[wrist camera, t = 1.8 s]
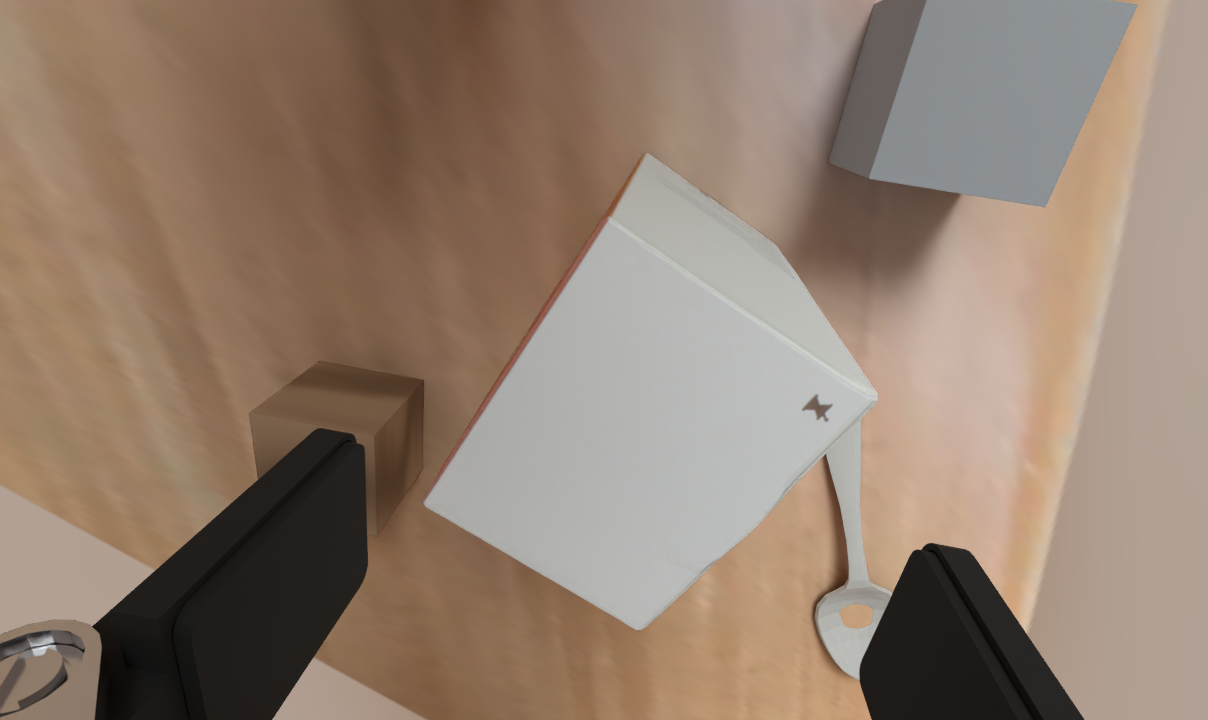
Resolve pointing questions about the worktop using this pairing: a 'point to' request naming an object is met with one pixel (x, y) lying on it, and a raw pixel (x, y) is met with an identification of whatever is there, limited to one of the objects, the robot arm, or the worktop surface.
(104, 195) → the worktop surface
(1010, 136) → the slate block
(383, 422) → the walnut block
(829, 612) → the spoon
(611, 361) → the small box
